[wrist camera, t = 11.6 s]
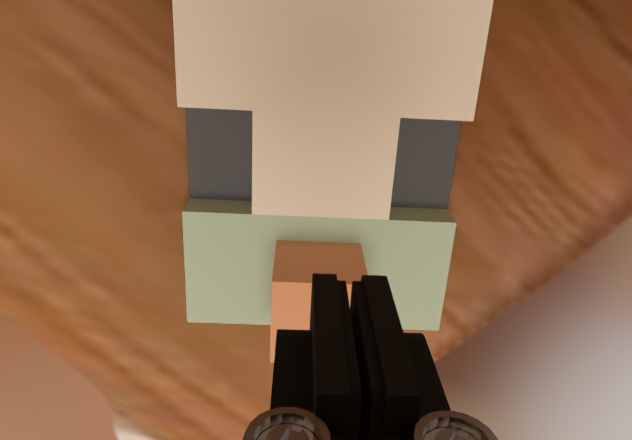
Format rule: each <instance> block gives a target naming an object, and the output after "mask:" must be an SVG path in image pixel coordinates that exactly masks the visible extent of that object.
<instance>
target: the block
mask: <svg viewBox="0 0 632 440" xmlns="http://www.w3.org/2000/svg"><path fill="white" fill-rule="evenodd" d="M313 273H320V274H337V280H342V281H346V285H347V292H348V299H349V306H350V302H351V290H352V282H353V281H361V277H362V275H368V273H367V269H366V264H365V260H364V256H363V251H362V247H361V244H360V243H335V242H309V241H284V240H277V241H276V249H275V258H274V267H273V275H272V293H271V335H270V363H274V359H275V347H276V334H277V329H289V330H310V311H311V291H312V275H313Z"/></svg>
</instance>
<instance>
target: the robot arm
mask: <svg viewBox="0 0 632 440" xmlns="http://www.w3.org/2000/svg"><path fill="white" fill-rule="evenodd" d="M243 440H498V439H497V437H496V436H495V435H494V433H493V432H492V431H491V430H490V429H489V428H488V427H487V426H486V425H484V424H483V423H482V422H480V421H479V420H478V419H475V418H473V417H471V416H469V415H467V414H464V413H460V412H455V411H451V410H450V407H449V404H448V402H447V399H446V396H445V393H444V390H443V387H442V384H441V382H440V379H439V376H438V373H437V370H436V367H435V364H434V362H433V359H432V356H431V353H430V350H429V347H428V345H427V342H426V339H425V337H424V335H423V334H422V333H403V330H402V326H401V323H400V319H399V316H398V312H397V309H396V306H395V302H394V299H393V295H392V292H391V289H390V285H389V282H388V278H387V276H382V275H362V277H361V281H353V282H352V290H351V302H350V306H349V299H348V292H347V285H346V281H342V280H337V274H320V273H313V275H312V291H311V311H310V330H289V329H277V334H276V347H275V359H274V371H273V383H272V395H271V407H270V410H268V411H266V412H264V413H262V414H260V415H258V416H257V417H256V418H255V419H254V420H253V421H252V422H251V423H250V424H249V426H248V428H247V430H246V431H245V434H244V437H243Z"/></svg>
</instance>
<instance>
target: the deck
mask: <svg viewBox="0 0 632 440" xmlns="http://www.w3.org/2000/svg"><path fill="white" fill-rule="evenodd" d="M172 4H173V26H174V47H175V69H176V90H177V107H186V118H187V143H188V168H189V193H190V199H189V200H188V202H187V204H186V206H185V207H184V209H183V211H182V219H183V241H184V262H185V284H186V305H187V322H198V323H228V324H258V325H271V293H272V275H273V267H274V258H275V249H276V241H277V240H284V241H309V242H335V243H360V244H361V247H362V251H363V256H364V260H365V264H366V269H367V273H368V275H382V276H387V278H388V282H389V285H390V289H391V292H392V295H393V299H394V302H395V306H396V309H397V312H398V316H399V319H400V323H401V326H402V329H408V330H438V331H439V326H440V320H441V314H442V308H443V302H444V296H445V290H446V284H447V278H448V272H449V266H450V259H451V253H452V247H453V241H454V235H455V229H456V221H455V220H454V218H453V217H452V215H451V214H450V212H449V211H448V209H447V208H448V202H449V195H450V189H451V183H452V176H453V170H454V164H455V157H456V151H457V145H458V138H459V132H460V125H461V121H474V115H475V109H476V103H477V97H478V91H479V85H480V79H481V73H482V66H483V60H484V54H485V48H486V42H487V36H488V30H489V24H490V18H491V12H492V6H493V0H172Z"/></svg>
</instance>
